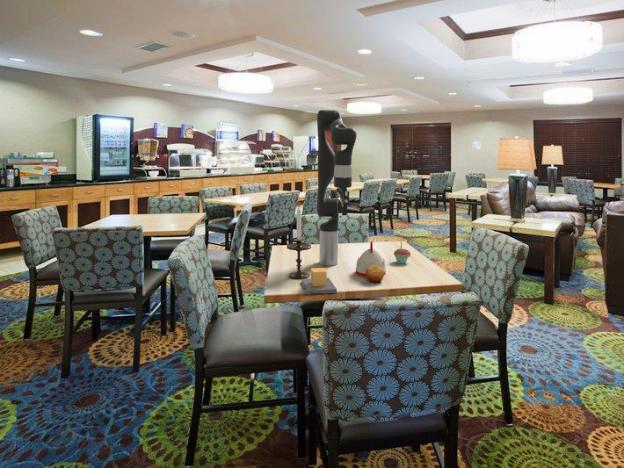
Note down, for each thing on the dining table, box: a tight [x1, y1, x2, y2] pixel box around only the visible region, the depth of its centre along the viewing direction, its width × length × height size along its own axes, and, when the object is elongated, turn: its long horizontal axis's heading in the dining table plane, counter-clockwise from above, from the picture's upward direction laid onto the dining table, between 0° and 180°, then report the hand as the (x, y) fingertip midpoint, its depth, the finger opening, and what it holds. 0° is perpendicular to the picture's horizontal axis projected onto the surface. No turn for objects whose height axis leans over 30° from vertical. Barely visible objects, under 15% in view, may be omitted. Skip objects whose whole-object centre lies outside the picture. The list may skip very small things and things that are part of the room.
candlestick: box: [286, 199, 312, 280], centre depth 193 cm, size 11×11×35 cm
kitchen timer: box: [355, 241, 387, 278], centre depth 201 cm, size 14×14×15 cm
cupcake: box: [393, 239, 412, 264], centre depth 221 cm, size 9×8×12 cm
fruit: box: [366, 265, 385, 283], centre depth 190 cm, size 8×8×8 cm
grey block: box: [301, 277, 338, 294], centre depth 181 cm, size 16×12×6 cm
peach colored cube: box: [310, 267, 328, 286], centre depth 180 cm, size 6×6×6 cm
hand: (342, 213), depth 186 cm, fingers open, 8 cm apart
